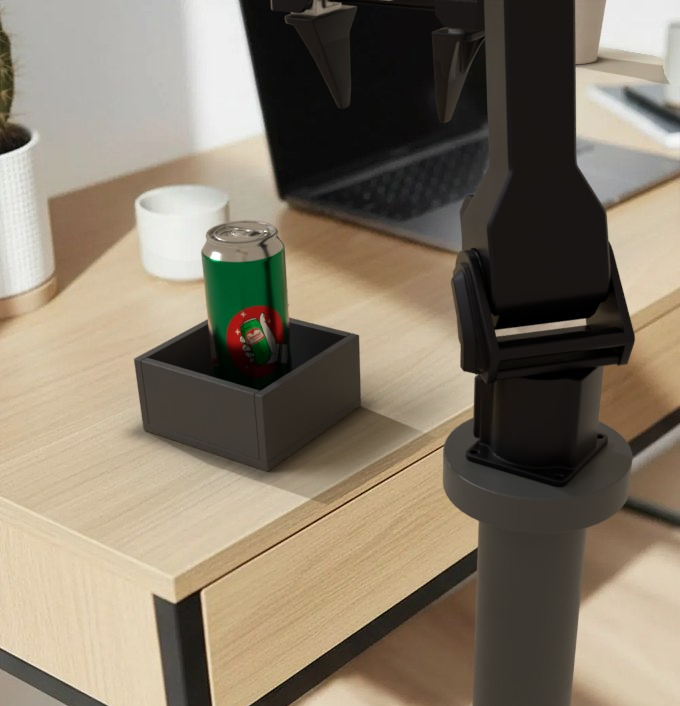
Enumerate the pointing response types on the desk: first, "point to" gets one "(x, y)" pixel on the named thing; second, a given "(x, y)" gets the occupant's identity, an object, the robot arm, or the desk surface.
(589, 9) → the coffee cup
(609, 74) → the desk surface
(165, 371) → the open square box
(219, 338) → the soda can
